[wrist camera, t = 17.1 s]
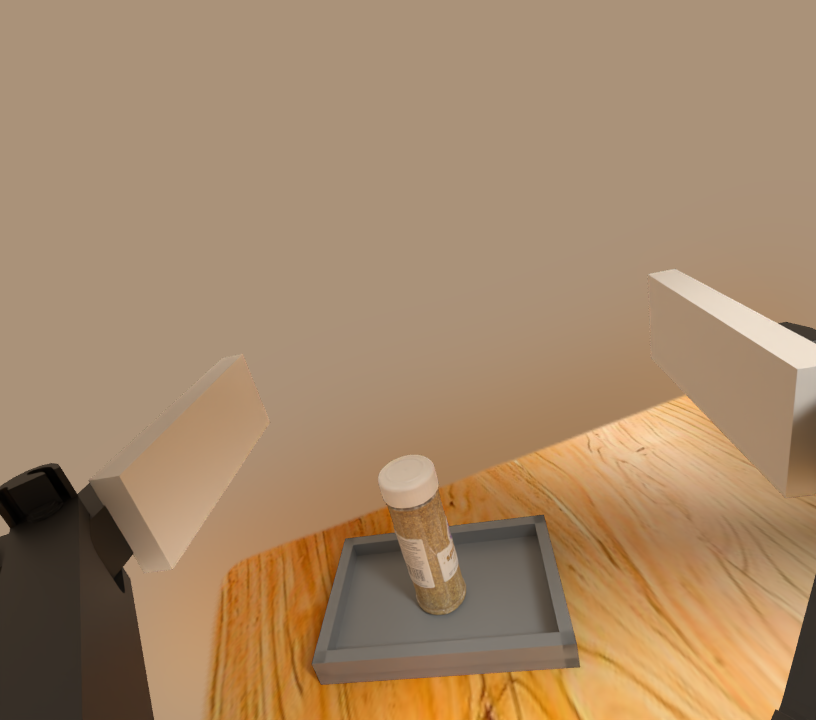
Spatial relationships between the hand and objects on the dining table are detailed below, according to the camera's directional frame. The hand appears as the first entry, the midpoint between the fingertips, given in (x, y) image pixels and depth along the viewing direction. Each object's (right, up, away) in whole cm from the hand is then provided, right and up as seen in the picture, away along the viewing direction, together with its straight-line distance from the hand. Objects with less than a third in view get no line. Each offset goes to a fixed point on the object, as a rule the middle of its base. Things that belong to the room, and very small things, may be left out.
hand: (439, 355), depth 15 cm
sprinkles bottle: (+2, -21, +26) cm, 34 cm away
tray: (+2, -22, +27) cm, 34 cm away
